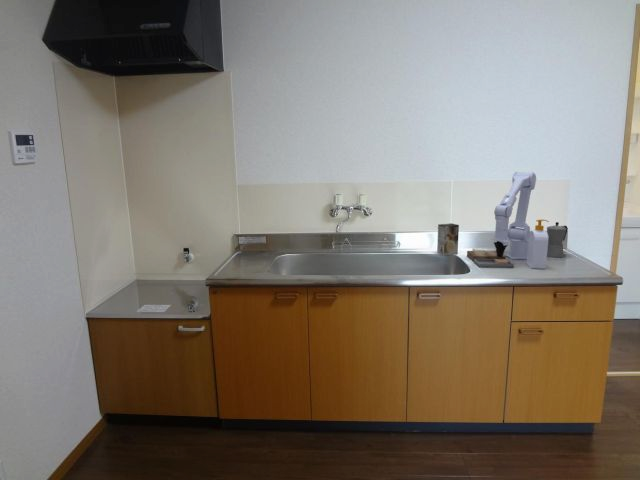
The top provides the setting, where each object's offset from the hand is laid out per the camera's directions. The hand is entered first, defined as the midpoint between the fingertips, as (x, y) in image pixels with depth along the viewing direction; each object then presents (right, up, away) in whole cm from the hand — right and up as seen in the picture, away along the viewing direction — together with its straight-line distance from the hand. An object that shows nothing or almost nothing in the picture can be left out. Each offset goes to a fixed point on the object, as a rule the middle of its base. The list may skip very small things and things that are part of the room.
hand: (499, 256), depth 227 cm
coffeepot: (+36, 0, +18) cm, 40 cm away
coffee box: (-19, +1, +23) cm, 30 cm away
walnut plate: (-3, -2, +11) cm, 11 cm away
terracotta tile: (0, -2, -3) cm, 3 cm away
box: (-4, -4, -1) cm, 5 cm away
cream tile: (-7, +2, +11) cm, 13 cm away
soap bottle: (+16, -5, -4) cm, 17 cm away
